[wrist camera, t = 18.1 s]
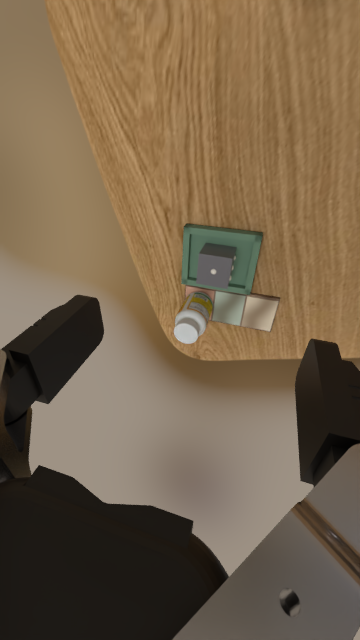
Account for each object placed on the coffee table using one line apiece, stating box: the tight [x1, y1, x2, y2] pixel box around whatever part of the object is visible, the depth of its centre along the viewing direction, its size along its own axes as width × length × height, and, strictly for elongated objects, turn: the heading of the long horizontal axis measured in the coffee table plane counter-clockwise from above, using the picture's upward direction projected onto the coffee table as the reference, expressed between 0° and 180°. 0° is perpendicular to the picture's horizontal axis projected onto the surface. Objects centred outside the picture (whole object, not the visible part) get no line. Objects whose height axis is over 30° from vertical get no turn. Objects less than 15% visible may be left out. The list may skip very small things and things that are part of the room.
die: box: [196, 243, 237, 289], centre depth 43 cm, size 5×5×5 cm
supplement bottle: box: [174, 292, 213, 344], centre depth 47 cm, size 5×5×10 cm
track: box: [185, 285, 280, 332], centre depth 50 cm, size 16×7×1 cm, turn 88°
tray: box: [181, 224, 263, 295], centre depth 45 cm, size 12×10×2 cm
